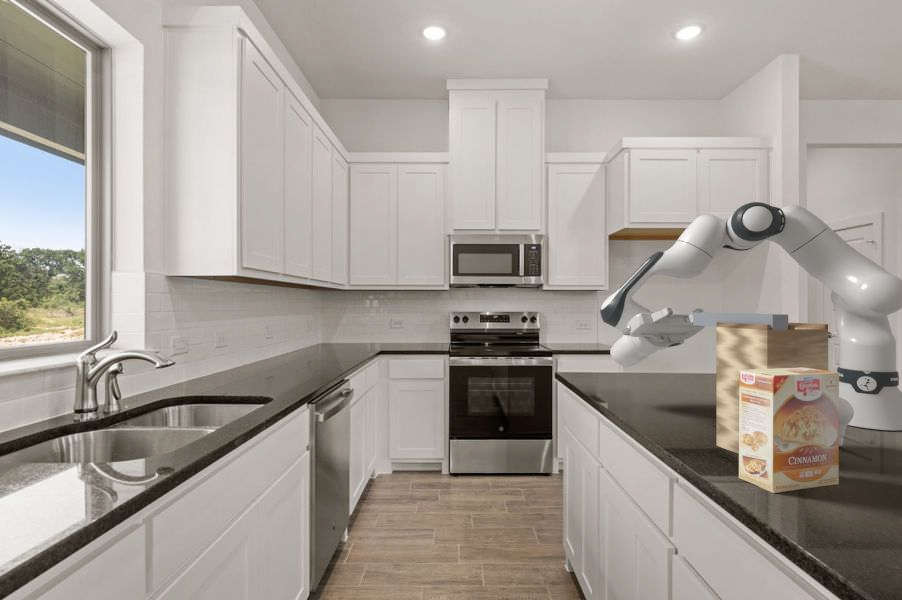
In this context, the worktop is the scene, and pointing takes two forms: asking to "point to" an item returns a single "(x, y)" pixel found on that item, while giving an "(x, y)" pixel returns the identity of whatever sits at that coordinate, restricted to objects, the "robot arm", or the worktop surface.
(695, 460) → the worktop surface
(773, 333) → the riser block
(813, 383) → the coffeecake box
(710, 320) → the grey rectangular bar
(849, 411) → the lightbulb
